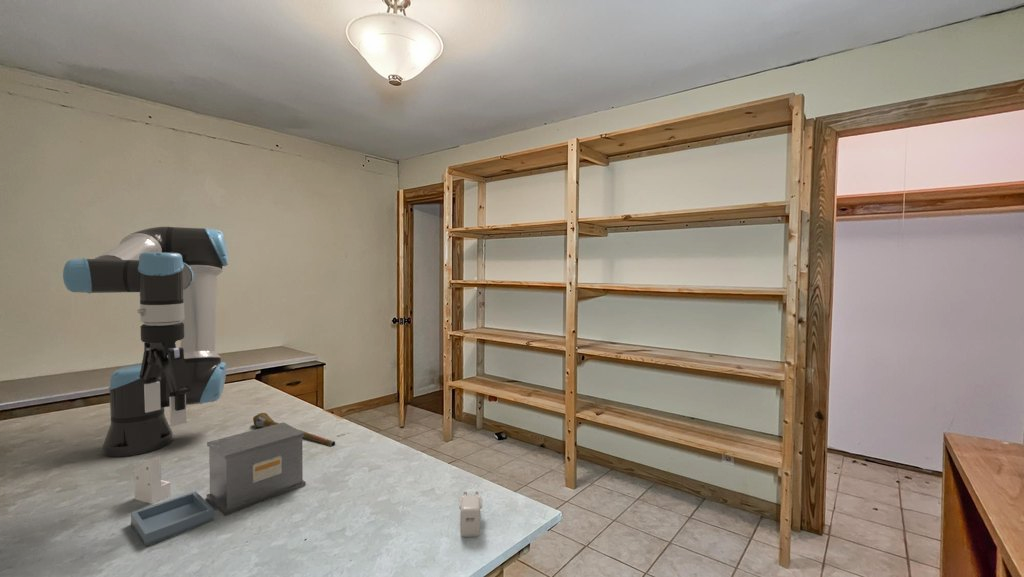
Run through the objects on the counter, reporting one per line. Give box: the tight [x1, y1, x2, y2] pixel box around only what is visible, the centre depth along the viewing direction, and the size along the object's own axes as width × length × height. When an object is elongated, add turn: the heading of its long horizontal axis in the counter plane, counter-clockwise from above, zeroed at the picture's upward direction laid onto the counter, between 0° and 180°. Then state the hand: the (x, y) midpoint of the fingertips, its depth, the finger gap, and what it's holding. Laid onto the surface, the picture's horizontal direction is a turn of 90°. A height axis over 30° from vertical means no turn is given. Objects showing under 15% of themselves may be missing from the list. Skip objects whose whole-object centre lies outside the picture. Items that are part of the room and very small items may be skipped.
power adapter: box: [458, 491, 483, 538], centre depth 91 cm, size 11×5×6 cm, turn 4°
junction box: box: [206, 422, 307, 517], centre depth 101 cm, size 11×17×13 cm, turn 142°
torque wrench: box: [252, 412, 336, 447], centre depth 135 cm, size 5×35×5 cm
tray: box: [130, 491, 215, 547], centre depth 89 cm, size 11×11×2 cm
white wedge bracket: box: [133, 455, 171, 505], centre depth 98 cm, size 4×10×9 cm, turn 71°
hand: (165, 417), depth 97 cm, fingers open, 13 cm apart
